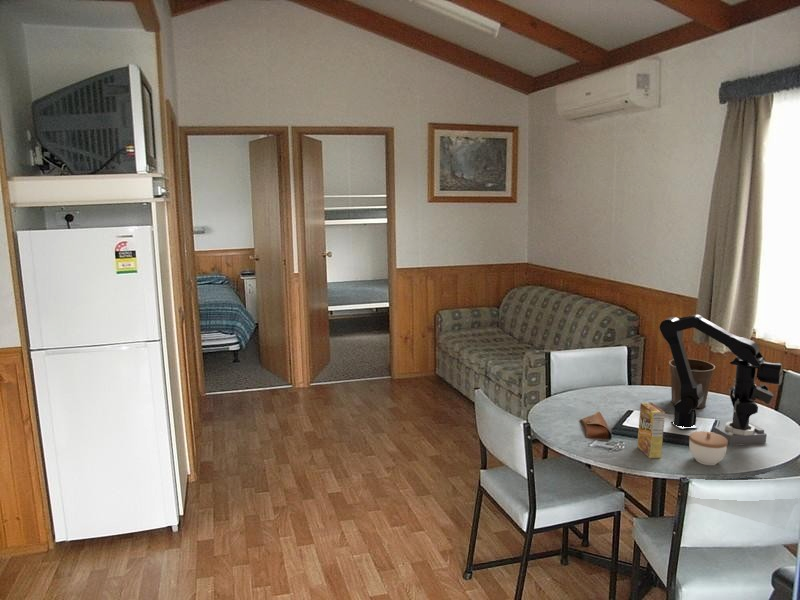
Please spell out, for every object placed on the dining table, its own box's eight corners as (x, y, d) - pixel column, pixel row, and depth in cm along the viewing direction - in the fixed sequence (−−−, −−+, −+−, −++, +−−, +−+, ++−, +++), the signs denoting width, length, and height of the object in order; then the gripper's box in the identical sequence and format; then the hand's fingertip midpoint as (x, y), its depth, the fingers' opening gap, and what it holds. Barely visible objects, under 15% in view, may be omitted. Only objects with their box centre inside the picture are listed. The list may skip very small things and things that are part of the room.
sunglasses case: (577, 419, 234) (587, 404, 232) (594, 428, 234) (604, 414, 232) (586, 438, 216) (597, 423, 215) (604, 449, 216) (615, 433, 215)
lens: (749, 434, 212) (751, 410, 210) (732, 432, 214) (734, 408, 212) (747, 428, 217) (749, 405, 215) (730, 426, 218) (732, 404, 217)
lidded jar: (716, 454, 204) (719, 426, 202) (731, 469, 194) (734, 440, 192) (682, 453, 205) (684, 425, 203) (695, 468, 194) (697, 439, 192)
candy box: (636, 447, 210) (639, 402, 207) (648, 446, 210) (652, 402, 207) (649, 458, 201) (652, 412, 198) (662, 457, 201) (665, 411, 199)
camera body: (730, 445, 210) (731, 432, 209) (712, 434, 219) (714, 422, 218) (765, 442, 212) (767, 430, 212) (747, 432, 221) (748, 419, 220)
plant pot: (711, 414, 238) (715, 372, 235) (664, 407, 245) (667, 367, 242) (711, 400, 253) (715, 361, 249) (667, 394, 259) (670, 356, 256)
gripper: (778, 390, 200) (773, 437, 203) (767, 373, 218) (763, 416, 220) (738, 386, 204) (734, 432, 207) (731, 370, 221) (727, 412, 224)
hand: (740, 423), depth 215 cm, fingers open, 9 cm apart
